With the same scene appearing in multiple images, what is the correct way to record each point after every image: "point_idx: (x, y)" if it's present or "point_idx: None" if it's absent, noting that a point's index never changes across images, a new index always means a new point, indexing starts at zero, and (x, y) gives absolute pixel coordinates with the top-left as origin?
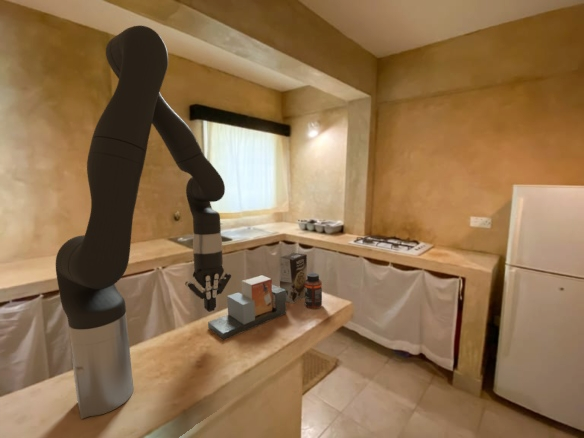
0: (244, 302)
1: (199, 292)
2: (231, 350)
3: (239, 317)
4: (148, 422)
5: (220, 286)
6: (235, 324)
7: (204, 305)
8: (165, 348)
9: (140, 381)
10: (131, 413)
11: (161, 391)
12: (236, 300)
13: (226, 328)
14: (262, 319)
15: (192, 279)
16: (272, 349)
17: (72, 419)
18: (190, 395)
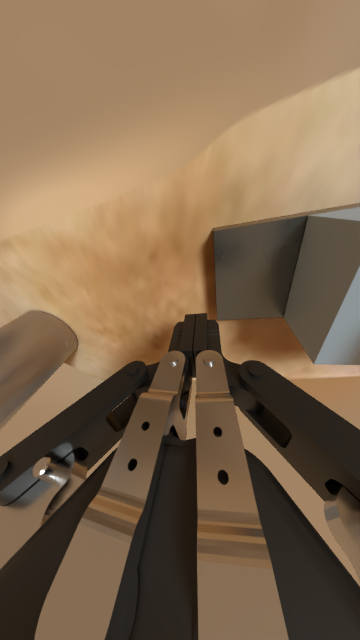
0: (338, 354)
1: (123, 427)
2: None
3: (294, 305)
4: (104, 376)
5: (266, 433)
6: (268, 302)
7: (173, 334)
8: (100, 264)
9: (80, 328)
10: (87, 362)
11: (110, 355)
12: (339, 320)
13: (236, 306)
14: None
15: (15, 549)
16: None
17: None
18: None
